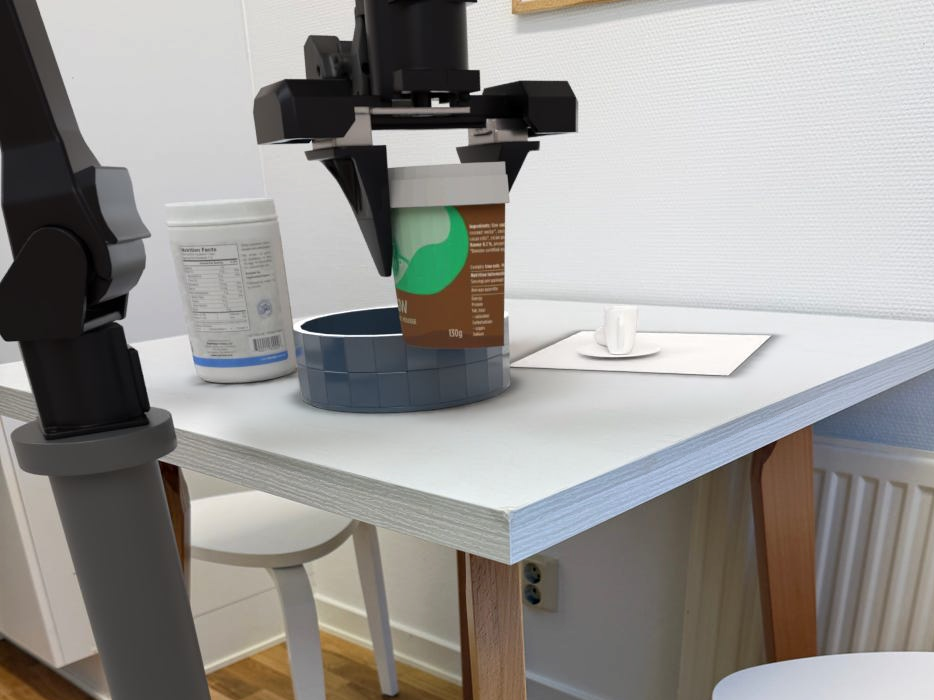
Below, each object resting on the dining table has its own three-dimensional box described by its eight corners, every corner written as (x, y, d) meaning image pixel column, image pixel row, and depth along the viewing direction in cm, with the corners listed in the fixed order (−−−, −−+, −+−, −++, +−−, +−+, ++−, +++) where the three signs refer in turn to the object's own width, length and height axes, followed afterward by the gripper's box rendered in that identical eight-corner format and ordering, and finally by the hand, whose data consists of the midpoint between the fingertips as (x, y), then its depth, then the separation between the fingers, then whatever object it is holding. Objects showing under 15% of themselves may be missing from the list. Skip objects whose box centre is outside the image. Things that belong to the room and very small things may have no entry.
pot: (347, 424, 63) (337, 345, 60) (274, 386, 77) (264, 320, 74) (550, 389, 70) (549, 317, 68) (451, 360, 84) (447, 299, 81)
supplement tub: (218, 366, 87) (188, 201, 80) (311, 363, 86) (289, 195, 79) (180, 387, 79) (142, 204, 72) (282, 384, 78) (254, 198, 71)
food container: (364, 333, 61) (348, 171, 57) (447, 325, 63) (438, 167, 59) (416, 360, 51) (401, 165, 46) (513, 349, 53) (508, 161, 48)
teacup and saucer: (595, 344, 88) (596, 300, 86) (674, 346, 84) (676, 301, 83) (563, 360, 81) (563, 313, 79) (647, 363, 78) (649, 314, 76)
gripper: (488, 0, 58) (496, 255, 66) (207, -14, 51) (251, 277, 58) (585, -37, 50) (581, 262, 57) (263, -60, 42) (306, 289, 49)
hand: (431, 272), depth 55 cm, fingers closed on food container, 6 cm apart
